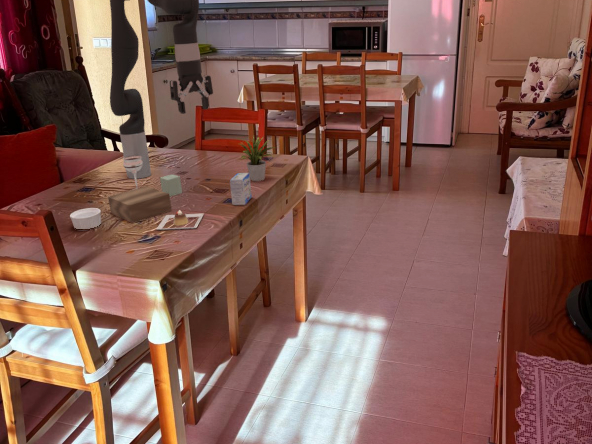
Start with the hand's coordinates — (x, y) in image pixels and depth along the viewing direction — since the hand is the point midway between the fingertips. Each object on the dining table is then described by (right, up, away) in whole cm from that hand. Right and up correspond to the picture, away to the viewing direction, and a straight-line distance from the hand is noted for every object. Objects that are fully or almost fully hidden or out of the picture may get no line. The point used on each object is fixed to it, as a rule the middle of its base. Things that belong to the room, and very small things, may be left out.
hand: (194, 111), depth 183 cm
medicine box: (+15, -29, +5) cm, 33 cm away
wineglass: (-25, -24, +24) cm, 42 cm away
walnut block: (-17, -33, +1) cm, 37 cm away
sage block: (-11, -25, +18) cm, 33 cm away
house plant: (+18, -20, +27) cm, 38 cm away
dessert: (-2, -36, -10) cm, 38 cm away
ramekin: (-31, -37, -8) cm, 49 cm away
